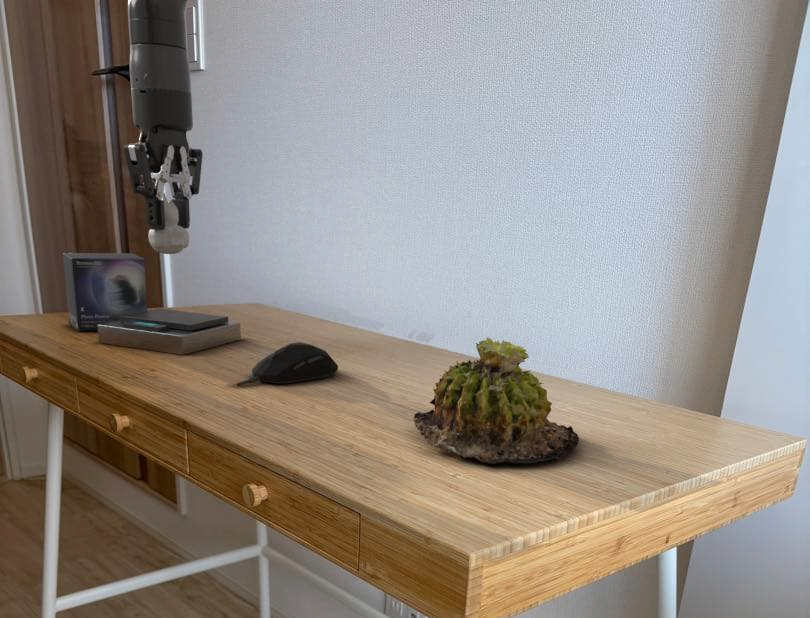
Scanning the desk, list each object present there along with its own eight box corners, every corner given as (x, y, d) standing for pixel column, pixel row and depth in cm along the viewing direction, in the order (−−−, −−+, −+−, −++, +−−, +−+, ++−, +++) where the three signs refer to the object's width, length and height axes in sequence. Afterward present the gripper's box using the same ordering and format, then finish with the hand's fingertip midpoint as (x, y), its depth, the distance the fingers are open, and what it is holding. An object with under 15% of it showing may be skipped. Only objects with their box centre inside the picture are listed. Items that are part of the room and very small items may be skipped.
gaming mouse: (221, 381, 98) (219, 347, 96) (313, 366, 108) (314, 334, 106) (255, 391, 94) (254, 355, 92) (348, 374, 104) (348, 342, 103)
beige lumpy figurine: (176, 252, 119) (173, 191, 116) (200, 256, 115) (197, 193, 112) (141, 252, 116) (136, 190, 112) (164, 257, 111) (160, 192, 108)
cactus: (601, 470, 74) (617, 360, 70) (422, 466, 72) (429, 354, 68) (552, 418, 89) (563, 326, 86) (405, 414, 88) (409, 320, 84)
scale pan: (119, 321, 117) (119, 315, 116) (160, 313, 124) (160, 308, 124) (191, 330, 113) (191, 324, 112) (228, 322, 120) (228, 316, 120)
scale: (98, 342, 115) (96, 319, 114) (162, 329, 127) (161, 308, 126) (183, 355, 110) (181, 330, 109) (240, 339, 122) (240, 317, 121)
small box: (78, 332, 121) (70, 257, 117) (68, 325, 126) (60, 252, 122) (150, 329, 127) (145, 256, 122) (138, 322, 132) (133, 252, 127)
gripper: (171, 94, 115) (178, 225, 121) (99, 81, 102) (112, 228, 109) (217, 94, 112) (222, 229, 119) (149, 82, 100) (159, 232, 107)
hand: (169, 228), depth 114 cm, fingers closed on beige lumpy figurine, 4 cm apart
